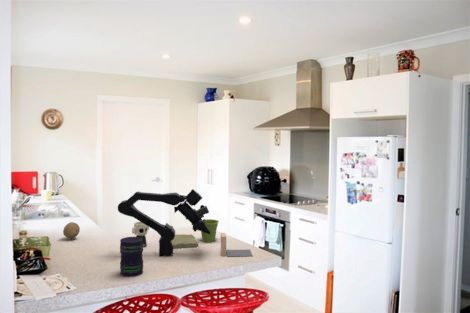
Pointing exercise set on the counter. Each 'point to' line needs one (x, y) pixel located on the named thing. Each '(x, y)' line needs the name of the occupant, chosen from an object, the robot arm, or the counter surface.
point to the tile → (223, 244)
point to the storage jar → (131, 256)
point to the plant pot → (212, 228)
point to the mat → (239, 253)
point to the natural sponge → (71, 230)
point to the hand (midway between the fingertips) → (209, 233)
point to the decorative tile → (184, 241)
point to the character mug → (140, 231)
